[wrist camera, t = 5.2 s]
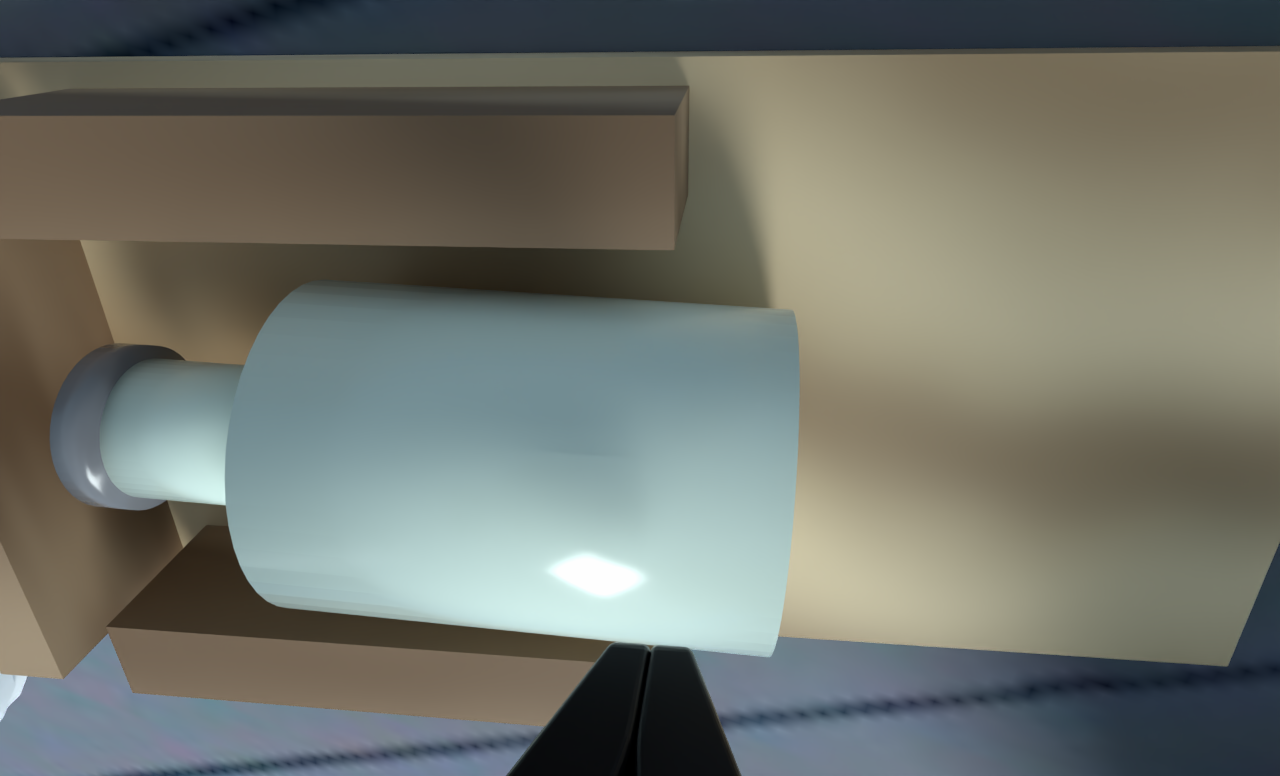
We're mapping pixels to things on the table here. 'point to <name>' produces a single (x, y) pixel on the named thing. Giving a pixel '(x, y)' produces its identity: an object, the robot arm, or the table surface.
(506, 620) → the bottle
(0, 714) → the foam cup
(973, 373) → the cradle board
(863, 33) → the table surface
